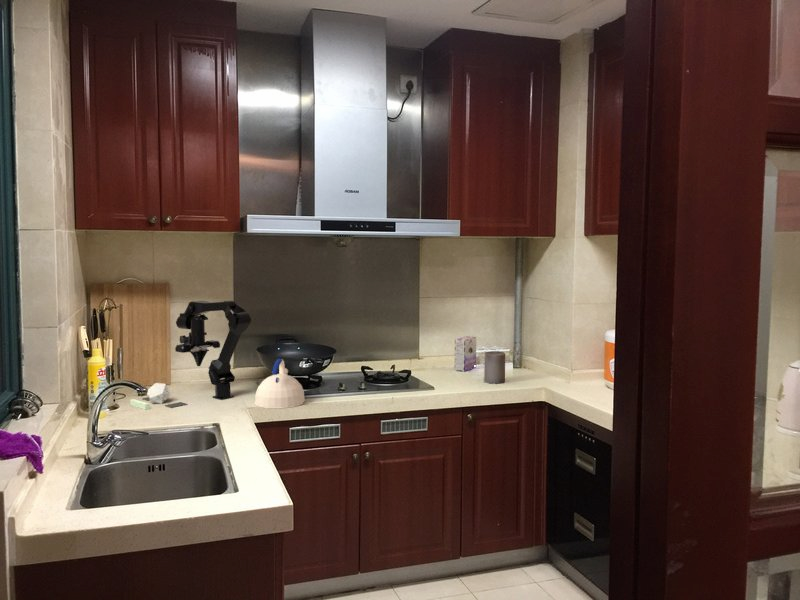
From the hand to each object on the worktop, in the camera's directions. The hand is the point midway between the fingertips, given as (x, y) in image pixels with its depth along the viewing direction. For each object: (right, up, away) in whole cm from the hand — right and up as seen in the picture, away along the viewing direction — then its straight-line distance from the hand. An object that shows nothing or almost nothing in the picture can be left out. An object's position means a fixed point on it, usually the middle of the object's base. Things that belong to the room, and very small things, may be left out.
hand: (198, 366), depth 277 cm
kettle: (+38, -14, -15) cm, 43 cm away
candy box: (+121, -8, +55) cm, 133 cm away
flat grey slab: (-12, -13, -17) cm, 25 cm away
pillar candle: (+131, -10, +24) cm, 134 cm away
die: (-12, -14, -15) cm, 23 cm away
